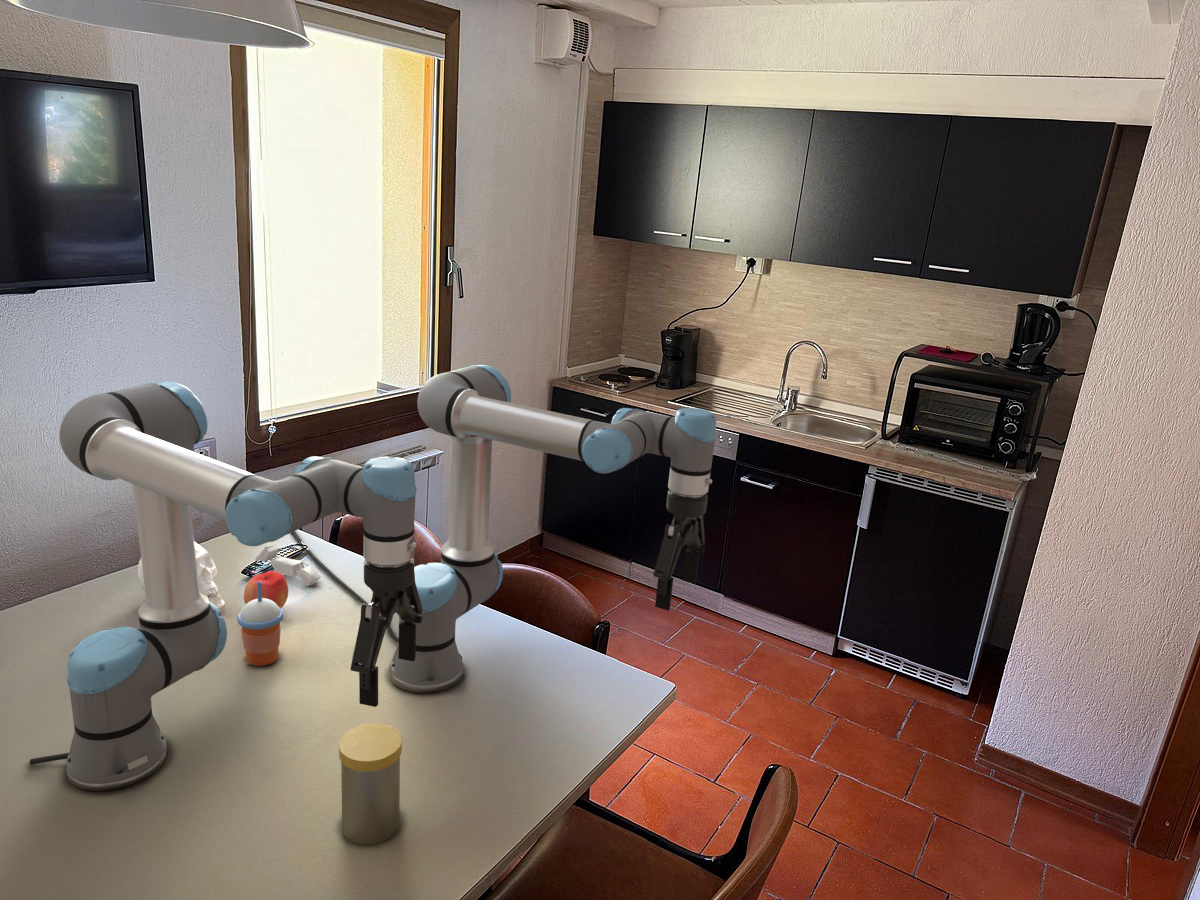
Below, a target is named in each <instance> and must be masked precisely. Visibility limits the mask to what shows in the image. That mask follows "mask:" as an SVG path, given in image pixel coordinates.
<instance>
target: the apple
mask: <svg viewBox="0 0 1200 900" xmlns="http://www.w3.org/2000/svg"><path fill="white" fill-rule="evenodd" d="M258 581H260V582H261V586H262V598H266V599H270V600H272V601H274V602H275V603H276V604H277V605H278V607H280V608H281V609H283V607H284V606H285V605H286V603H287V600H288V597H289V584H288V581H287V579H286V577H285V575H282V574H281V573H278V572H275V571H268V570H267V571H266V572H264V573H259V574H255V575H254V576H253V577H251V578H250V579H249V580H248V582H247V583H246V585H245V587H244V590H243V601H244V604H245V605H246V604H247V603H248V602H250V601H252V600H254V599H258V598H257V582H258Z"/></svg>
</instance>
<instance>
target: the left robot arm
mask: <svg viewBox="0 0 1200 900" xmlns="http://www.w3.org/2000/svg"><path fill="white" fill-rule="evenodd" d="M208 424H209V423H208V417H207V413H206V410H205V408H204V406H203V404H202V402H201V400H200V399H199V398H198V396H196V395H195V394H194V393H193V391H192V390H191V389H189V388H188V387H187V386H185V385H183V384H182V383H179V382H175V381H162V382H160V381H159V382H148V383H145V384H140V385H137V386H132V387H128V388H123V389H118V390H113V391H108V392H102V393H98V394H92V395H89V396H87V397H85V398H83V399H80V400H79V401H77V402H76V403H75V404H73V406H71V407H70V408H69V410H68V411H66V414H65V415H64V416H63V419H62V421H61V423H60V427H59V436H58V437H59V444H60V447H61V450H62V452H63V454H64V455H65V457H66V458H67V459H68V461H69V462H70V463H71V464H72V465H74V466H75V467H76V468H78V469H79V470H80V471H82V472H84V473H86V474H88V475H91V476H92V477H96V478H98V479H99V480H100V479H101V480H104V481H114V480H122V481H124V482H126V483H130V484H131V486H132V492H133V503H134V510H135V518H136V527H137V535H138V543H139V550H140V551H139V552H140V559H141V560H142V569H143V577H144V585H145V590H144V593H145V601H144V602H143V603H142V604H141V605H140V606H139V608H138V610H137V616H138V623H139V627H137V628H134V627H130V626H115V627H113V628H112V629H103V630H100V631H97V632H94V633H93V634H90V635H89V636H87V637H85V638H84V639H83V640H81V641H80V642H78V644H76V645H75V646H74V647H73V649H72V650H71V652H70V654H69V656H68V659H67V676H66V683H67V686H68V688H69V696H70V704H71V713H72V719H73V727H74V733H73V737H72V739H71V744H70V748H69V752H65V753H64V752H63V753H58V754H51V755H46V756H40V757H34V758H31V759H30V760H29V765H30V766H31V765H32V766H33V765H38V764H42V763H49V762H55V761H62V760H66V764H65V765H66V766H65V769H66V775H67V780H68V782H70V784H72V785H73V786H75V787H76V788H78V789H82V790H86V791H92V792H95V791H96V792H103V791H105V792H106V791H113V790H117V789H122V788H125V787H128V786H131V785H133V784H136V783H139V782H141V781H143V780H145V779H146V778H148V777H150V776H151V775H152V774H154V773H155V772H156V771H158V769H160V768H161V766H162V765H163V764H164V762H165V761H166V759H167V756H168V745H167V739H166V736H165V735H164V733H163V731H161V728H160V726H159V723H158V722H157V720H156V719H155V716H154V714H153V707H152V698H153V696H154V695H156V694H157V693H160V692H161V691H163V690H164V689H166V688H168V687H170V686H171V685H173V684H175V683H176V682H178V681H181V680H182V679H184V678H185V677H187V676H189V675H192V674H193V673H194V672H197V671H200V670H203V669H204V668H205V667H206V666H207V665H209V664H210V663H211V662H213V661H214V660H216V659H217V658H218V657H219V656H220V655H221V654H222V653H223V650H224V649H225V647H226V643H227V639H228V627H227V623H226V620H225V618H224V616H221V613H222V611H221V609H218V608H217V607H216V606H215V605H214V604H212V603H211V602H209V600H210V598H209V597H208V596H205V595H203V594H201V593H200V592H199V585H198V575H197V565H196V555H195V546H194V542H195V537H194V527H193V526H194V525H193V517H192V509H195V510H198V511H200V512H203V513H206V514H207V515H210V516H213V517H216V518H218V519H221V520H223V521H225V524H226V526H227V529H228V531H229V533H230V534H231V535H232V536H233V537H235V538H236V540H237V541H238V543H240V544H242V545H244V546H248V547H258V546H259V547H260V546H263V545H264V544H268V543H272V542H276V541H278V540H279V539H282V538H283V537H286V536H287V535H289V534H291V533H292V532H294V531H295V532H296V531H298V530H300V529H302V528H305V527H306V526H309V525H310V524H313V523H315V522H317V521H319V520H321V519H325V518H326V517H328V516H331V515H333V514H336V513H341V514H344V515H349V516H351V517H357V518H362V525H363V528H362V529H363V548H362V549H363V550H362V551H363V554H362V555H363V559H364V560H363V582H364V584H365V586H366V587H368V588H369V589H370V590H371V592H372V596H371V600H370V603H368V604H362V603H361V606H360V618H359V619H360V620H359V624H358V625H359V626H358V631H357V634H356V639H355V646H354V649H353V654H352V659H351V664H350V671H351V672H357V673H358V676H359V677H358V678H359V679H358V681H359V682H358V685H359V687H358V689H359V693H358V695H359V698H358V699H359V700H358V701H359V705H364V706H368V707H374V708H377V706H378V705H379V666H376V665H377V662H378V658H379V655H380V652H381V648H382V645H383V641H384V638H385V636H386V635H385V634H386V631H387V627H389V626H390V627H391V625H392V622H393V618H394V615H396V614H397V615H398V618H399V617H400V618H401V620H403V621H404V622H400V623H399V622H398V638H399V654H398V659H403V660H408V661H413V662H414V660H415V658H416V624H415V623H421V622H422V616H418V614H421V613H422V605H421V601H420V598H419V594H418V591H417V587H416V584H415V572H414V567H415V559H414V557H415V549H416V548H417V547H418V543H417V542H416V541H415V531H416V529H415V528H416V527H415V514H416V513H415V512H416V495H417V486H416V471H415V470H416V469H415V466H414V465H413V463H412V462H410V461H409V460H407V459H405V458H402V457H398V456H393V457H390V456H377V457H373V458H370V459H368V460H367V461H365V463H364V464H363V466H361V465H357V464H353V463H349V462H345V461H341V460H338V459H336V458H331V457H322V456H315V455H313V456H309V457H307V458H304V459H303V460H302V461H301V463H300V464H299V465H298V466H296V467H295V469H294V472H293V474H291V475H289V476H287V477H284V478H280V479H278V480H271V479H268V478H266V477H263V476H259V475H256V474H253V473H251V472H249V471H246V470H243V469H240V468H237V467H236V466H233V465H229V464H227V463H224V462H222V461H219V460H216V459H213V458H212V457H208V456H205V455H203V454H200V453H197V452H195V445H198V444H199V443H200V442H201V441H203V440H204V438H205V437H204V436H206V435H207V432H208ZM208 598H209V599H208ZM379 617H381V618H385V620H383V619H379Z"/></svg>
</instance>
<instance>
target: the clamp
mask: <svg viewBox="0 0 1200 900" xmlns="http://www.w3.org/2000/svg"><path fill="white" fill-rule="evenodd" d="M280 549H281V547H279V546H278V545H277V544H272V545H266V546H264V547H263V549H262V550H261V551H260V552H259V554H258V555H257V556H256V557H255V559H254V562H255V563H256V561H259V560H262V561H268V560H271V562H270V563H269V564H271V565H272V566H273V568H274V571H275V572H278V573H281V574H282V575H283V576H288V577H292V578H296V577H298V578H299V579H300V580H301V582H303V584H304V585H305V587H309V586H312V585H314V584H316V583H318V582H319V580H320V579H321V578H322V577H321V575H320V574H319V573H318V572H317V570H315V569H314V568H313V566H312V565H310V564H309V565H308V564H307V563H305V562H304V561H303V560H301V559H300V560H299V559H292V558H289V557H285V556H278V553H279V551H280ZM273 558H274V559H273ZM272 559H273V560H272ZM305 566H306V567H305ZM270 571H271V570H270Z"/></svg>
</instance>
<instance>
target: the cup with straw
mask: <svg viewBox="0 0 1200 900" xmlns="http://www.w3.org/2000/svg"><path fill="white" fill-rule="evenodd" d="M257 598H258V599H254V600H252V601H250V602H248V603H247V604H245V605H244V606H243V608H242V609H241V611H240V612H238V614H237V617H236V621H237V624H238V625H239V627H241V628H240V632H241V638H242V644H243V649H244V651H245V658H246V661H247V663H248V664H249V665H252V666H259V667H261V666H268V665H271V664H273V663H274V662H275V661H277V659H278V657H279V647H280V644H281V630H282V624H281V622H282V621H283V620H284V616H285V614H284V610H283V608H280V607H278V605H277V604H276V603H275V602H274V601H272V600H270V599H266V598H262V586H261V582H260V581H258V582H257Z"/></svg>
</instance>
